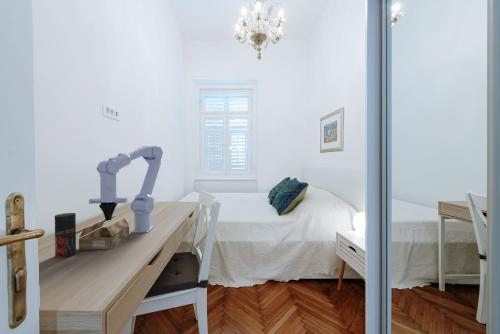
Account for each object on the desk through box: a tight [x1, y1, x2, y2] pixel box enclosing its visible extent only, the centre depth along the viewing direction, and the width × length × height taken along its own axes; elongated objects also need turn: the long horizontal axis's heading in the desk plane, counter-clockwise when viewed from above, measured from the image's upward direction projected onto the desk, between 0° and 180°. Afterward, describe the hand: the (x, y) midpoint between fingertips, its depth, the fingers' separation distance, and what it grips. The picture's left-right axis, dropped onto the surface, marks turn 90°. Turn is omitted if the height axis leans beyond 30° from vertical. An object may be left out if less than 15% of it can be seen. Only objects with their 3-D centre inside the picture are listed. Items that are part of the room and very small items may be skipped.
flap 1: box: [78, 218, 106, 238], centre depth 93 cm, size 15×1×4 cm, turn 6°
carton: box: [78, 225, 130, 251], centre depth 94 cm, size 17×12×4 cm
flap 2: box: [106, 217, 130, 236], centre depth 94 cm, size 15×1×4 cm, turn 6°
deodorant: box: [54, 212, 77, 259], centre depth 81 cm, size 6×6×15 cm
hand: (108, 220), depth 94 cm, fingers closed
